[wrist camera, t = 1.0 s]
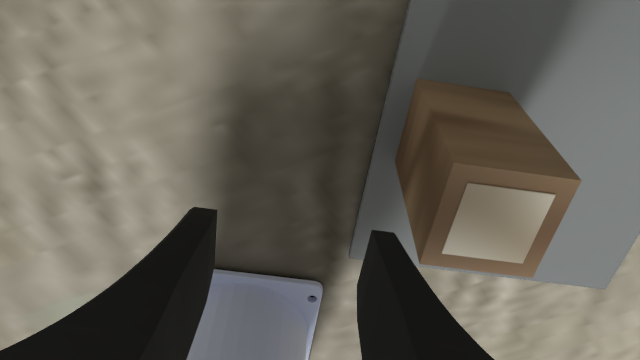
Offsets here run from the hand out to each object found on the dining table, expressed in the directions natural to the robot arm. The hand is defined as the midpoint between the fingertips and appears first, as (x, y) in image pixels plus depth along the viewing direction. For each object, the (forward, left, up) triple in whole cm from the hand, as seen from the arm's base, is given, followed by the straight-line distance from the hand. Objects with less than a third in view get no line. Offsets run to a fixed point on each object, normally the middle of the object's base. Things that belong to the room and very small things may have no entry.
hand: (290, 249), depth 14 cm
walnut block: (0, -6, -10) cm, 12 cm away
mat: (0, -10, -10) cm, 14 cm away
